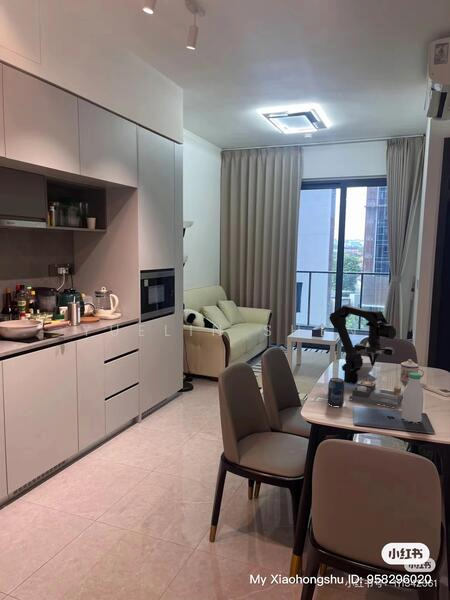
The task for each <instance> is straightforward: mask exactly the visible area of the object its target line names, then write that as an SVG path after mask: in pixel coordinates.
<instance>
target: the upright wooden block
mask: <svg viewBox="0 0 450 600" xmlns="http://www.w3.org/2000/svg"><path fill="white" fill-rule="evenodd" d="M393 390H394V395H396V396H398V398H399V397H400V395H401V392H402V386H401V385H395V386H394V388H393Z"/></svg>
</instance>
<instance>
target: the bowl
mask: <svg viewBox="0 0 450 600" xmlns="http://www.w3.org/2000/svg"><path fill="white" fill-rule="evenodd" d="M361 357H362V359H363V360H362V361H363V364H362V367H361V368H360V370H358V374H359V375H358V377H359V376H360V377H363V376H364V377H367V376H368V375H369V374H370V372H371V371H372V370H373V369H374V366H372V365H371V362H370V358H369V356H365V355H361ZM376 362H377V360H376V361H375V363H376Z"/></svg>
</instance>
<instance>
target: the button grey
mask: <svg viewBox="0 0 450 600" xmlns="http://www.w3.org/2000/svg"><path fill="white" fill-rule="evenodd" d="M356 386H357V390H359V391H365V392H366V391H367V387H365V386H358V385H356Z"/></svg>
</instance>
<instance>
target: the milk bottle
mask: <svg viewBox="0 0 450 600" xmlns="http://www.w3.org/2000/svg"><path fill="white" fill-rule="evenodd" d="M421 376H422V374H421V373H419V372H418V373H409V381H408V382H407V383H406V386H405V387H404V390H403V397H402V404H401V405H402V406H401V419H402V418H403V419H405V420H408V421H413V422H420V421H421V422H422V420H423V406H424V392H423V388H422V385H421V379H422V377H421ZM421 422H420V423H421Z"/></svg>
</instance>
